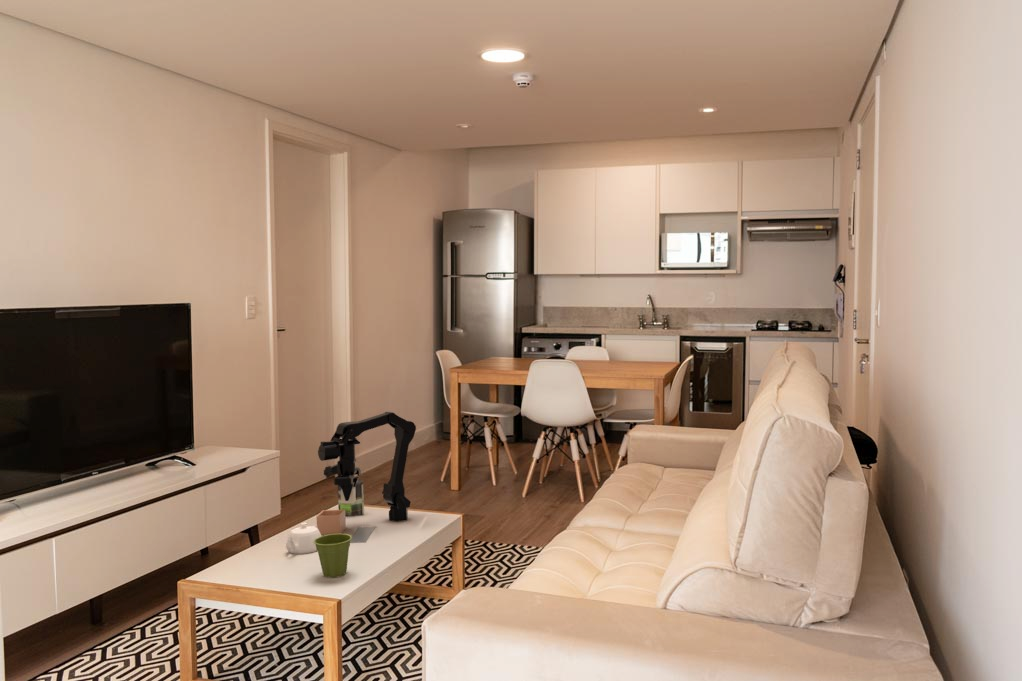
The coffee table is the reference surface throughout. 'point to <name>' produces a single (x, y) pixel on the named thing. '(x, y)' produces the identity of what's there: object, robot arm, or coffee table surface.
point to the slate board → (362, 534)
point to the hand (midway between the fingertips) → (348, 499)
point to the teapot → (302, 539)
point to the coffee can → (358, 505)
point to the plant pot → (333, 553)
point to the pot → (331, 522)
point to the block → (352, 496)
